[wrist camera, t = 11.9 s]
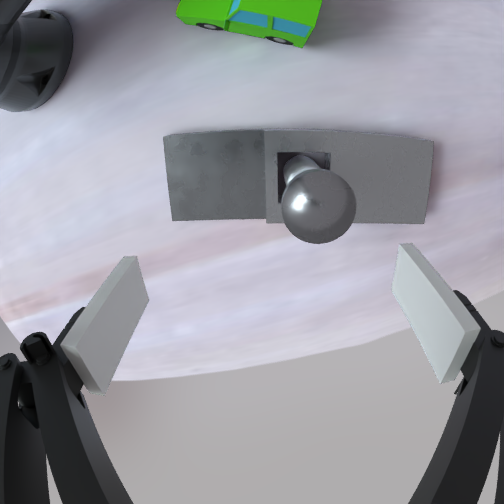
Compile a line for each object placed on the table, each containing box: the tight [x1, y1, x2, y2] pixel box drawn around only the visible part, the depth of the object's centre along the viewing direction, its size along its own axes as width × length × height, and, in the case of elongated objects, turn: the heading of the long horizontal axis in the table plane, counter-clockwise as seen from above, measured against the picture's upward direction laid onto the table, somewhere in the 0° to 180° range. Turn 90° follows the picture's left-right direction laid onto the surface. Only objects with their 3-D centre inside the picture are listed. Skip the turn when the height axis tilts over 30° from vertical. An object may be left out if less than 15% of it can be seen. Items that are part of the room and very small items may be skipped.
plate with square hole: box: [163, 129, 434, 224], centre depth 32 cm, size 10×30×3 cm, turn 92°
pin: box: [281, 155, 356, 244], centre depth 27 cm, size 6×6×13 cm
